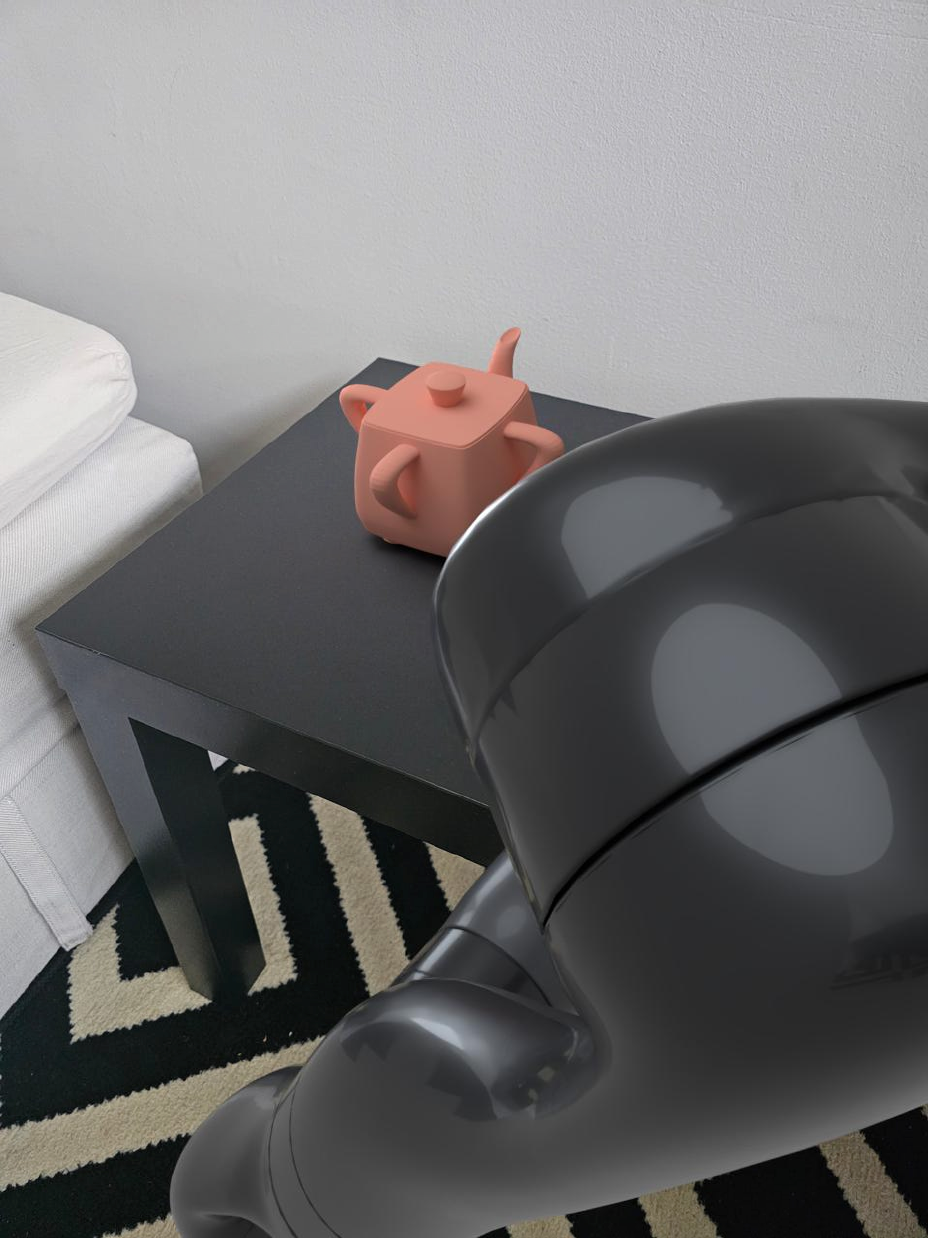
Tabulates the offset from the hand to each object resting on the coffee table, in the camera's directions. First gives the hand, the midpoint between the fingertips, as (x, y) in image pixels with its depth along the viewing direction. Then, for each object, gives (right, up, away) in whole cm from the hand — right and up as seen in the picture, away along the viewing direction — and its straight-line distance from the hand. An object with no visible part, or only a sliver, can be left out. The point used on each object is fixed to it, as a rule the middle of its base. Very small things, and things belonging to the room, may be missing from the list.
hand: (714, 716), depth 57 cm
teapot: (-15, +14, +26) cm, 33 cm away
